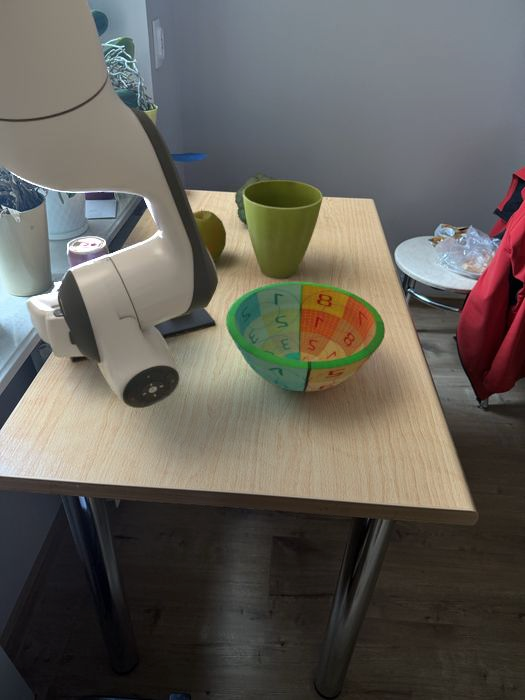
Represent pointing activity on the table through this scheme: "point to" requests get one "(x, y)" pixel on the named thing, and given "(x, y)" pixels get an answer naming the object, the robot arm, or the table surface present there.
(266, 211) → the flower pot
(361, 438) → the table surface
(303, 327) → the bowl
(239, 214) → the vegetable
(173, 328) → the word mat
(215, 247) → the apple
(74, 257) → the beverage can
